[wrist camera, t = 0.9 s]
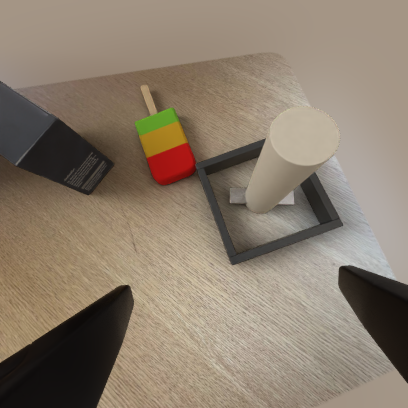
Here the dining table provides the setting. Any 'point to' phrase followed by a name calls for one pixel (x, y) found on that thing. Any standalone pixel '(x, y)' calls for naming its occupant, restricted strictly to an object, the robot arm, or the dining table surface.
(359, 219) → the dining table surface
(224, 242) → the grey picture frame
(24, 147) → the box
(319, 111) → the white tall round cylinder
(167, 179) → the popsicle
